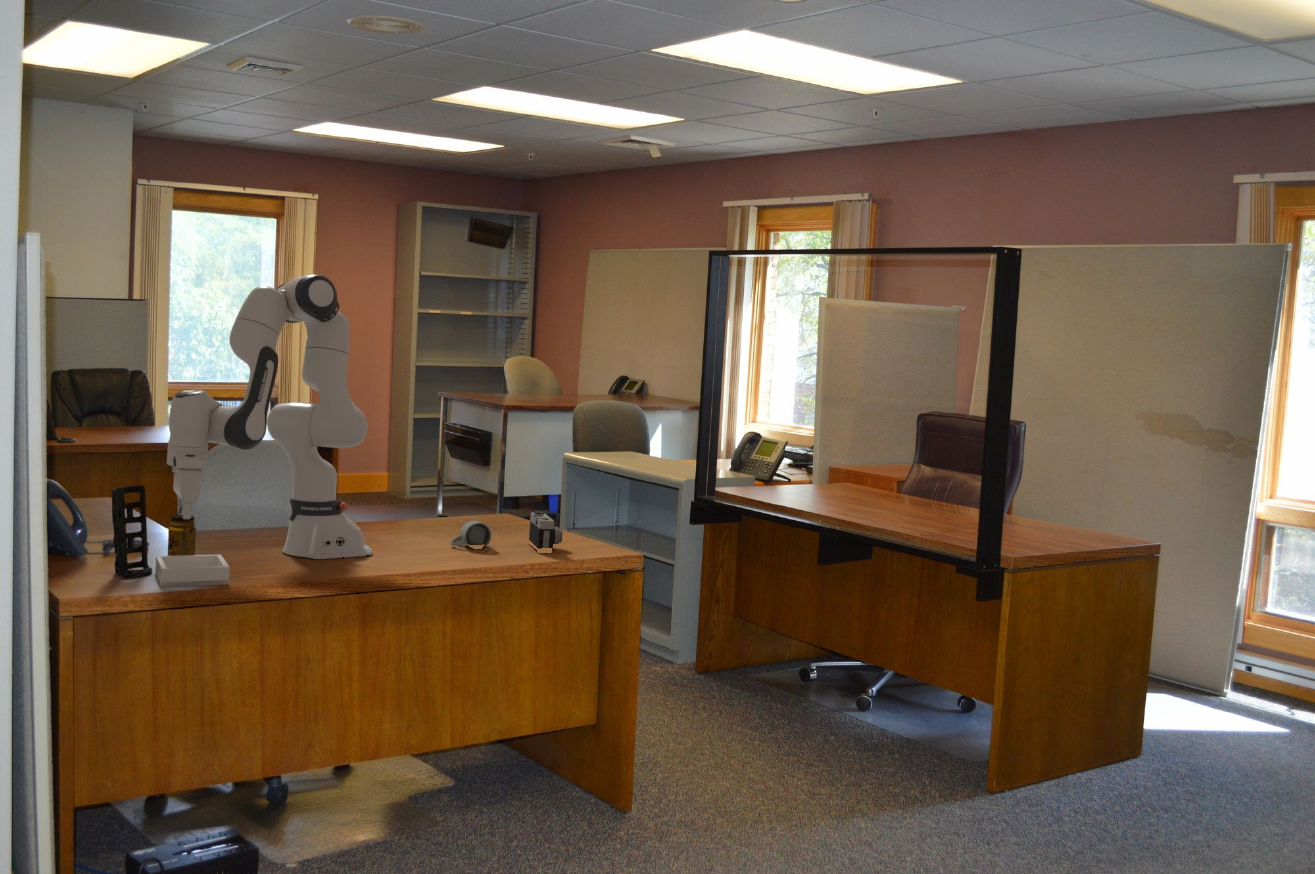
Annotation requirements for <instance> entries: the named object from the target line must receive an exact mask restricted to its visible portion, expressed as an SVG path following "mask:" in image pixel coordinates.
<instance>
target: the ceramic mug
mask: <svg viewBox="0 0 1315 874" xmlns="http://www.w3.org/2000/svg"><path fill="white" fill-rule="evenodd" d="M491 539H492V531H491V529H490V527H489V526H488V525H487V524H485V523H484V522H481V521H478V520H470V521H467V522H466V523H464V524H463V525H462V527H461V530H460V535H459V536H457V537H455V538H453V539H451V540H450V541H449V544H450V546H451V545H453V546H459V547H462V546H464V545H465V546H467V547H468V546H469V545H483V544H484V546H486V547H487V546H489V544H490V542H491ZM468 544H469V545H468Z"/></svg>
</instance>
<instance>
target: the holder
mask: <svg viewBox="0 0 1315 874" xmlns="http://www.w3.org/2000/svg"><path fill="white" fill-rule="evenodd" d="M110 492H111V494H110V498H111V513H112V514H111V517H112V519H111V520H112V521H111V522H112V525H113V526H112V527H113V537H112V538H113V547H114V554H115V556H114V557H115V558H114V559H115V561H114V573H115V574H116V575H117V576H120V577H122V579H123V580H126V579H127V580H128V579H132V578H134V577H135V578H136V577H139V576H140V577H141V576H143V575H147V574H150V573H152V571H153V568H152V567H150V566H149V563H148V562H149V561H148V529H147V524H148V523H147V501H146V500H147V498H146V497H147V496H146V486H145V485H143V484H140V485H129V486H122V487H118V488H117V487H116V488H113V489H110ZM132 493H133V494H134V493H137V494H139V500H138V501H134V502H125V494H132ZM134 508H139V510H140V515H139V516H134ZM137 523H139V524H140V530H139V531H135V532H134V531H133V532H127V525H128V524H137ZM135 538H140V539H141V544H140V545H139V546H136V545H135ZM133 553H141V559H140V560H139V561H133V562H132V561H131V562H128V554H133ZM138 568H139V569H138ZM140 568H142V569H140Z"/></svg>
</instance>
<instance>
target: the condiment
mask: <svg viewBox="0 0 1315 874" xmlns="http://www.w3.org/2000/svg"><path fill="white" fill-rule="evenodd" d="M195 519H196V518H195V517H194V515H191V518H190V519H183V517H182V514H173V515H172V516H170V523H169V524H170V526H169V527H168V533H167V534H168V535H167V537H168V540H167V556H178V555H196V540H197V539H196V536H197V534H196V532H197V528H196V527H195Z"/></svg>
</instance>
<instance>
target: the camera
mask: <svg viewBox="0 0 1315 874" xmlns="http://www.w3.org/2000/svg"><path fill="white" fill-rule="evenodd" d="M529 519H530V521H529V522H530V523H529V534H528V535H529V536H528V541H529V540H530V541H531V542H532V543H533V544H534V545H535V546H536V547H537V548H538V549H539V548H540V549H541V548H546V549H547V548H552V549H553V547H554V546H553V544H558V545H559V544H561V543H562V540H563V531H562V529H559V526H555V520H554V519H553V518H551V517H550V516H549V515H547V514H546V513H545V512H543V511H534V512H530V518H529Z"/></svg>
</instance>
